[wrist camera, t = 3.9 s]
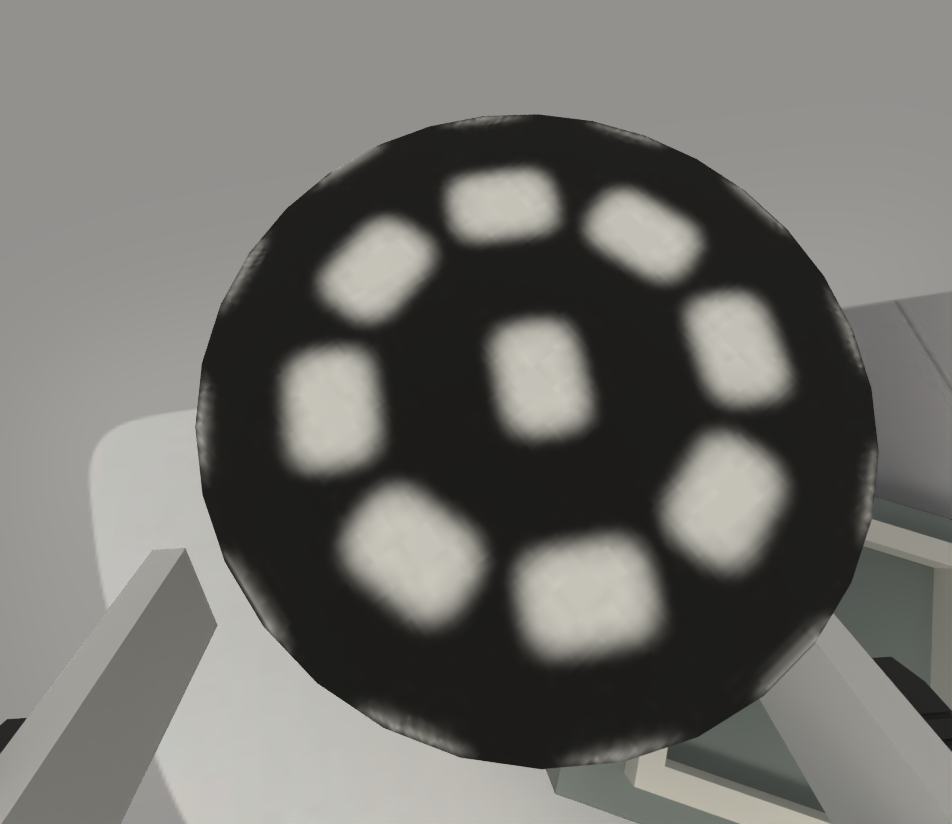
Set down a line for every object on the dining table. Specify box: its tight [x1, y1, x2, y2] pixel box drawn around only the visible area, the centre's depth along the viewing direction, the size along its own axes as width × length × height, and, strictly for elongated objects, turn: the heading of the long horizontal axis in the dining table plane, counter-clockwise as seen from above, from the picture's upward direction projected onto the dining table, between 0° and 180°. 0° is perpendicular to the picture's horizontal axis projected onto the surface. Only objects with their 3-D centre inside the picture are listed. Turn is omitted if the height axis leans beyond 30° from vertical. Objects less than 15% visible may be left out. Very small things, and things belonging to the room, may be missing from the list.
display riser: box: [546, 496, 952, 824], centre depth 22 cm, size 18×16×4 cm
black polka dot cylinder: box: [195, 115, 879, 769], centre depth 15 cm, size 8×8×20 cm
